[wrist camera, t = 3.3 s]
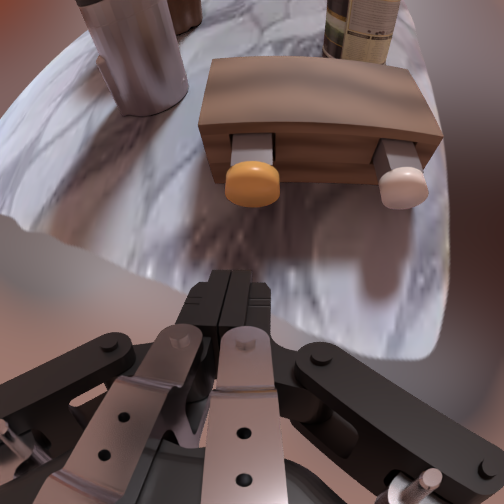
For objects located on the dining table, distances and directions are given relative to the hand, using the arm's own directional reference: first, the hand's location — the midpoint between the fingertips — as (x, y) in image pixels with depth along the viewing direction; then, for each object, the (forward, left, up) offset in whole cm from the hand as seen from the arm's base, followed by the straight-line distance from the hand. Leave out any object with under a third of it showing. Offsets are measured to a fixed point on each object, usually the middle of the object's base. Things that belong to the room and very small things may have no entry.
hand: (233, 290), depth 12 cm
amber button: (+2, +12, -9) cm, 15 cm away
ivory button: (+14, +10, -9) cm, 20 cm away
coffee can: (+22, +36, -12) cm, 44 cm away
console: (+9, +17, -12) cm, 23 cm away
